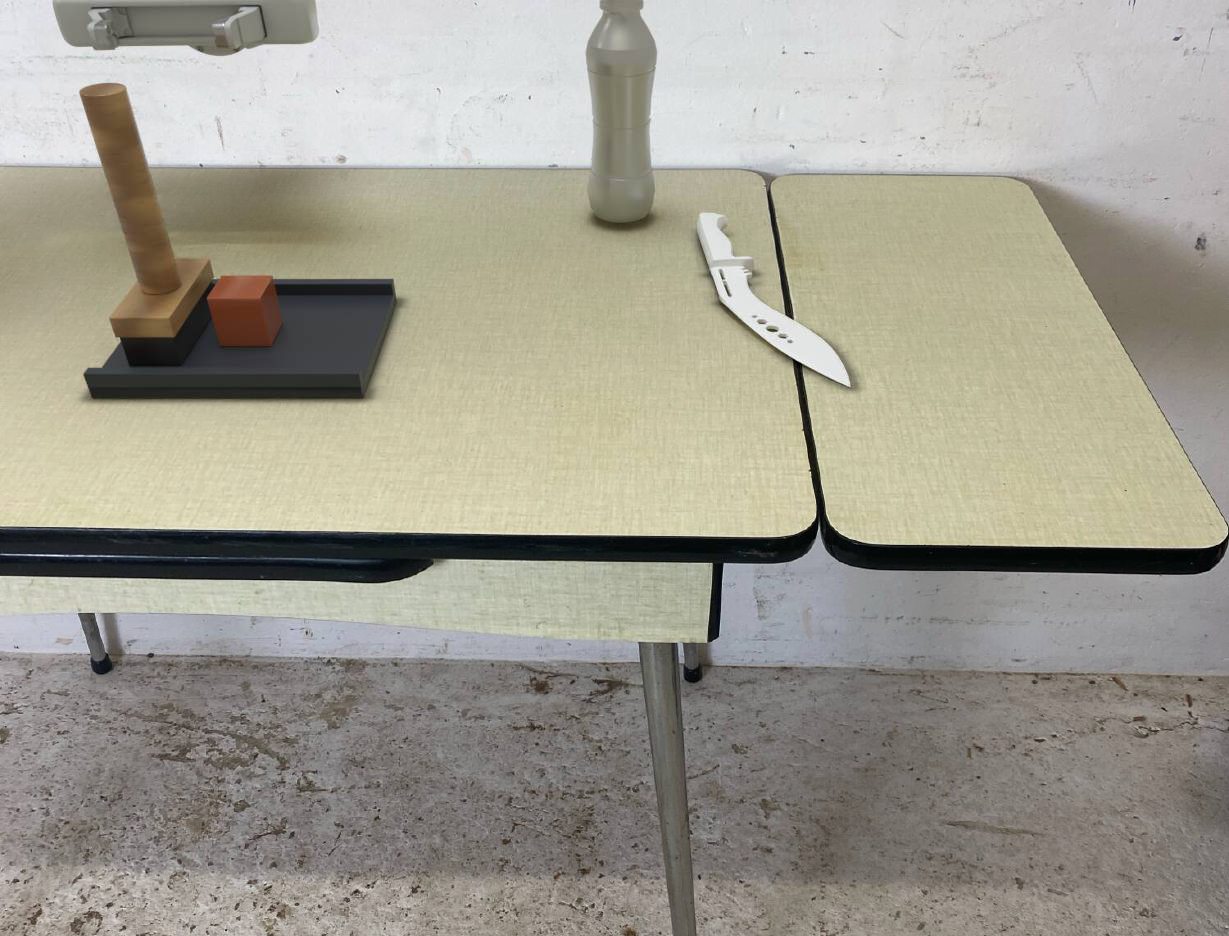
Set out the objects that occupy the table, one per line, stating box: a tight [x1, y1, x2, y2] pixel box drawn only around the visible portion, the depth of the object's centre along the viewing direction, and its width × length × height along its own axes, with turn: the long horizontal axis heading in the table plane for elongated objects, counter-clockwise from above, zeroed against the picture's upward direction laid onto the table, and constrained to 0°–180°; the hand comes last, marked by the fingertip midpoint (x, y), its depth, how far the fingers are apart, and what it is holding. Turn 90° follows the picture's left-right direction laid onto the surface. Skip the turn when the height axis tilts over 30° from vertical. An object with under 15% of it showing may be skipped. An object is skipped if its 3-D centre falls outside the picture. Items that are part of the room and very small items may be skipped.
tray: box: [82, 278, 398, 399], centre depth 84 cm, size 20×16×2 cm
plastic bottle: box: [585, 0, 658, 224], centre depth 98 cm, size 6×7×20 cm
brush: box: [78, 82, 215, 366], centre depth 78 cm, size 4×10×18 cm, turn 0°
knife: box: [695, 212, 851, 388], centre depth 90 cm, size 30×2×8 cm
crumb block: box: [207, 274, 283, 346], centre depth 83 cm, size 4×4×4 cm
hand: (161, 38), depth 81 cm, fingers open, 8 cm apart
